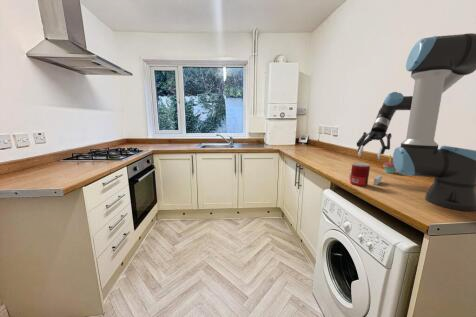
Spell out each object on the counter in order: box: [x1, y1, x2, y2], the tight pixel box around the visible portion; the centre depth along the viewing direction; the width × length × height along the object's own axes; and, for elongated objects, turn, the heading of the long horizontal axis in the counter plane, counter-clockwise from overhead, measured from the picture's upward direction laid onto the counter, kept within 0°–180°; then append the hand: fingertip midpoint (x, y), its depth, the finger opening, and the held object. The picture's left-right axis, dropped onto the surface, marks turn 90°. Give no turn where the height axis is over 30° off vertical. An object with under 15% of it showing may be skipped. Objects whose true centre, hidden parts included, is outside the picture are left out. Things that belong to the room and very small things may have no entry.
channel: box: [349, 172, 383, 186], centre depth 114 cm, size 9×13×4 cm
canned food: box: [349, 162, 371, 187], centre depth 106 cm, size 8×8×11 cm
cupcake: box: [382, 154, 397, 174], centre depth 132 cm, size 9×8×12 cm
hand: (368, 156), depth 112 cm, fingers open, 9 cm apart
